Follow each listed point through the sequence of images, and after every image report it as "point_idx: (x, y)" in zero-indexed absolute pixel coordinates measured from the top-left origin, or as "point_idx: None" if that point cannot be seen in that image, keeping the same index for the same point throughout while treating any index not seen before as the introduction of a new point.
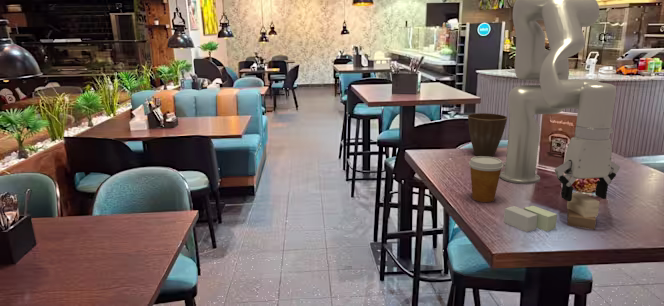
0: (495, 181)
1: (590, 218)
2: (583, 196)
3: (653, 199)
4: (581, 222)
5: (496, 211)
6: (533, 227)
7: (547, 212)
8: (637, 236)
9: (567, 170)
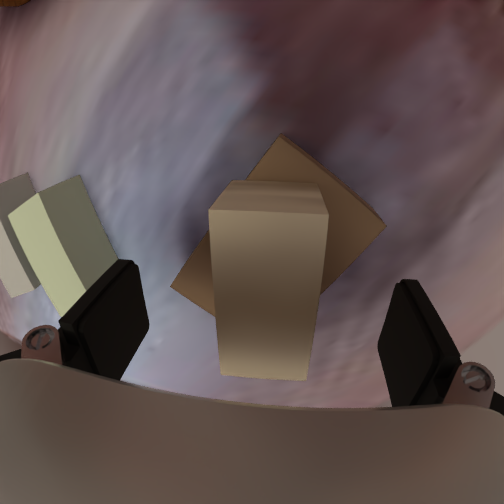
0: None
1: None
2: (276, 298)
3: None
4: None
5: (10, 93)
6: None
7: (67, 282)
8: (363, 378)
9: (21, 383)
